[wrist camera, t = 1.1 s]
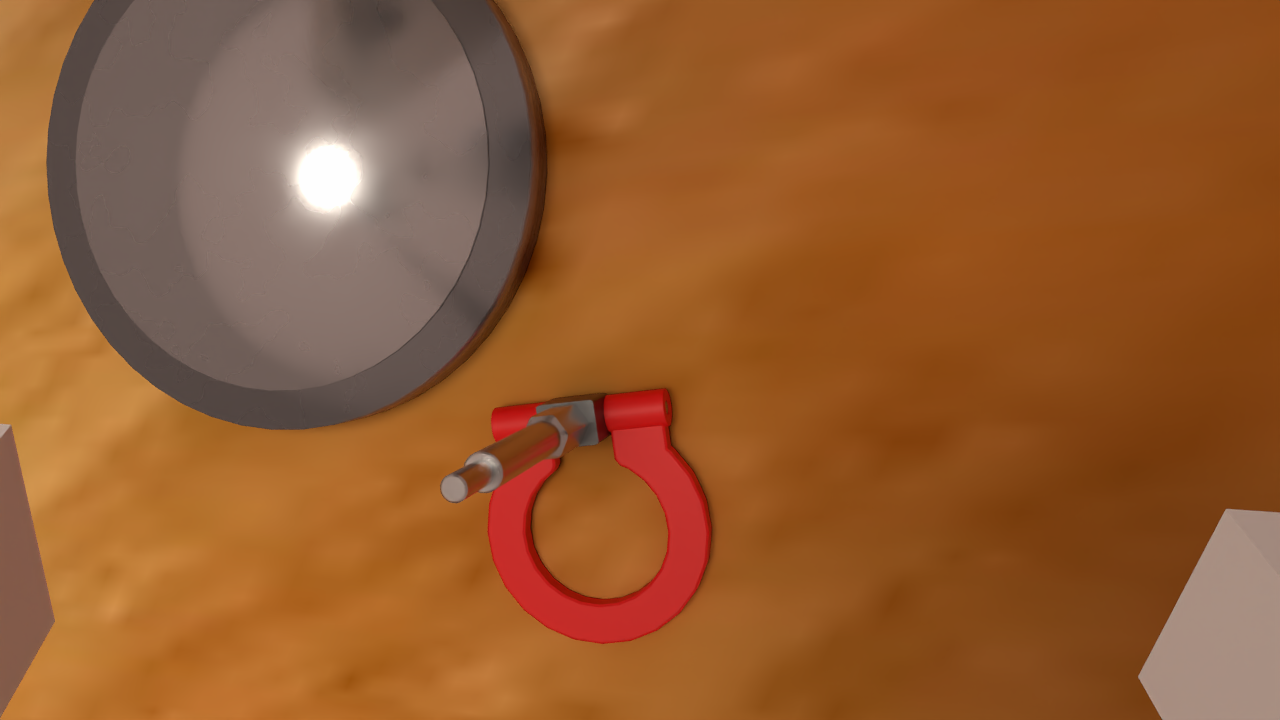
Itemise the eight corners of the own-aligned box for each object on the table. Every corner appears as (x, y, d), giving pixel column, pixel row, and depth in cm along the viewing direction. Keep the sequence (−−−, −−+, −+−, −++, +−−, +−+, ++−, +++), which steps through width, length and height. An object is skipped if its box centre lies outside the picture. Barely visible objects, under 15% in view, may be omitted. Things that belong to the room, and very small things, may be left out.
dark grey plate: (585, -66, 39) (568, -87, 37) (503, 468, 41) (482, 478, 39) (113, -113, 43) (73, -134, 41) (57, 374, 45) (16, 378, 43)
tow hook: (727, 626, 40) (694, 380, 39) (656, 799, 27) (604, 442, 27) (514, 639, 42) (479, 405, 41) (357, 806, 29) (302, 473, 29)
